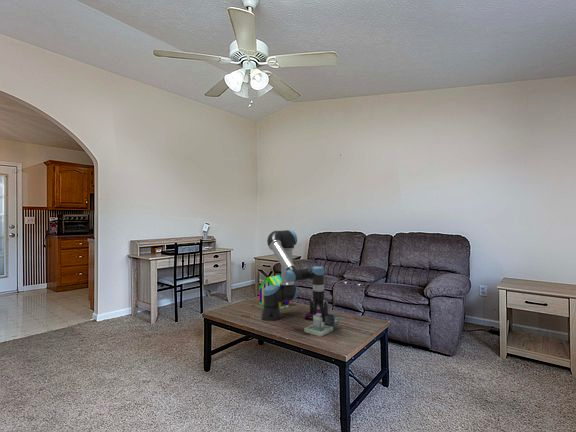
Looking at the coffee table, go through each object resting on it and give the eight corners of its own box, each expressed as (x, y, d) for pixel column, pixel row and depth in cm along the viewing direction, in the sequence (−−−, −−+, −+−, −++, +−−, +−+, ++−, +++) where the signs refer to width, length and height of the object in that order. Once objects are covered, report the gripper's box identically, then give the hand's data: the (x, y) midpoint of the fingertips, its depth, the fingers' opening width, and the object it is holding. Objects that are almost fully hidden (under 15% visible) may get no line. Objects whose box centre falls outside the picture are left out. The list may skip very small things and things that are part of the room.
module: (313, 329, 214) (313, 314, 214) (317, 327, 218) (317, 312, 218) (319, 331, 211) (319, 316, 211) (324, 329, 215) (324, 314, 215)
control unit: (322, 327, 223) (322, 312, 223) (326, 324, 227) (326, 310, 227) (334, 330, 217) (334, 314, 217) (338, 327, 221) (338, 313, 221)
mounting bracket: (305, 326, 241) (322, 321, 229) (301, 315, 244) (318, 309, 232) (314, 323, 248) (330, 318, 236) (310, 312, 250) (326, 306, 239)
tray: (304, 331, 214) (304, 328, 214) (316, 326, 224) (316, 322, 224) (321, 336, 205) (321, 332, 205) (333, 330, 216) (333, 326, 216)
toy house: (289, 306, 274) (289, 276, 273) (277, 310, 265) (276, 279, 264) (271, 301, 292) (271, 273, 292) (259, 304, 283) (258, 275, 283)
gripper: (303, 289, 218) (304, 324, 218) (327, 293, 206) (327, 330, 206) (310, 287, 224) (310, 321, 224) (333, 291, 212) (333, 327, 212)
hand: (318, 325), depth 215 cm, fingers closed on module, 5 cm apart
